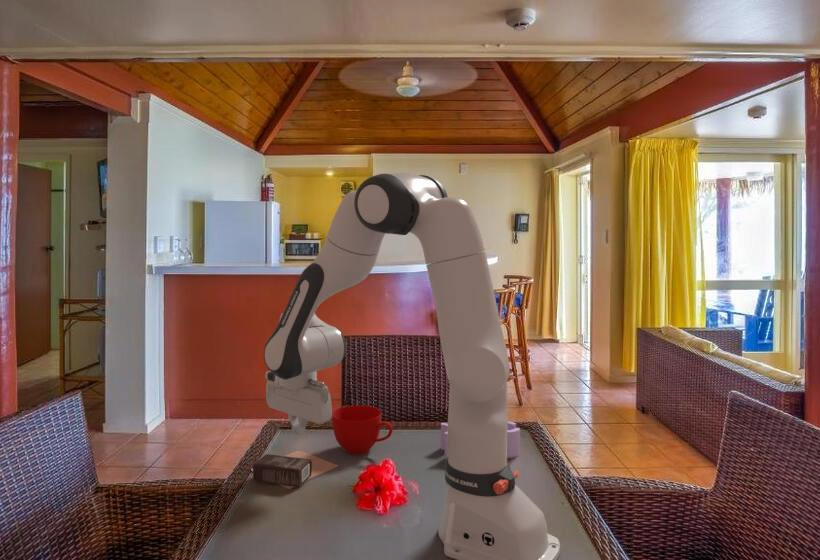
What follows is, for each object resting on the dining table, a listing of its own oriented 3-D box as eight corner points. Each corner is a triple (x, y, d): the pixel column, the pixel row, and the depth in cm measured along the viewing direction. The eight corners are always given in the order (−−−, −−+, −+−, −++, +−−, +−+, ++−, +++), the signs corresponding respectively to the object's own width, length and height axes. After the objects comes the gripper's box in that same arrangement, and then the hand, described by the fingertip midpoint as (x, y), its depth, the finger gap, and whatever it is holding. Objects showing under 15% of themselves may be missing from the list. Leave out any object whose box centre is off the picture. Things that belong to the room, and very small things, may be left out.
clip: (510, 442, 146) (511, 417, 146) (524, 461, 134) (525, 434, 133) (439, 444, 144) (439, 420, 144) (446, 464, 132) (446, 437, 132)
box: (311, 477, 124) (266, 469, 127) (312, 459, 124) (266, 451, 127) (299, 489, 118) (252, 481, 122) (299, 470, 118) (252, 462, 121)
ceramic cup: (379, 466, 130) (379, 426, 130) (322, 454, 138) (322, 416, 137) (403, 447, 142) (403, 411, 141) (349, 437, 149) (349, 402, 149)
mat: (338, 466, 130) (338, 465, 130) (289, 489, 118) (289, 488, 118) (298, 451, 139) (298, 450, 139) (249, 470, 128) (249, 469, 128)
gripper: (338, 380, 121) (338, 439, 122) (282, 366, 134) (283, 420, 135) (317, 386, 116) (317, 448, 117) (260, 371, 129) (262, 427, 130)
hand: (298, 433), depth 126 cm, fingers closed
